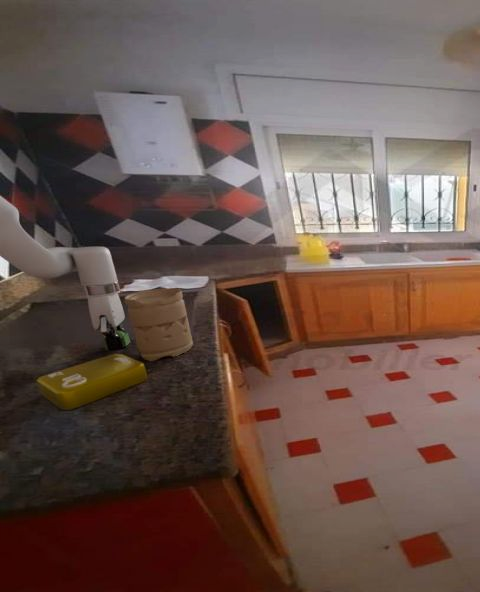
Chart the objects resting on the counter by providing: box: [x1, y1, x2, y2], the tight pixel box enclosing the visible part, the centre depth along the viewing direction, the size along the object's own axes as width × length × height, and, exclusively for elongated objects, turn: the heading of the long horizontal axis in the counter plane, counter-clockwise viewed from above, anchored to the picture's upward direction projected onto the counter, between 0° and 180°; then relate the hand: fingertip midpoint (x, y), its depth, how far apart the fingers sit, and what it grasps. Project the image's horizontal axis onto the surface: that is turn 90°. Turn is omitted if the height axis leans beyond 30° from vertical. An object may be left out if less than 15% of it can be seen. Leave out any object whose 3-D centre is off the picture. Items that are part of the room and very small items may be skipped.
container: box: [124, 287, 194, 362], centre depth 92 cm, size 13×13×18 cm
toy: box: [102, 331, 131, 351], centre depth 97 cm, size 5×4×5 cm
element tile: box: [36, 353, 148, 411], centre depth 75 cm, size 15×15×5 cm
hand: (118, 345), depth 97 cm, fingers closed on toy, 4 cm apart
